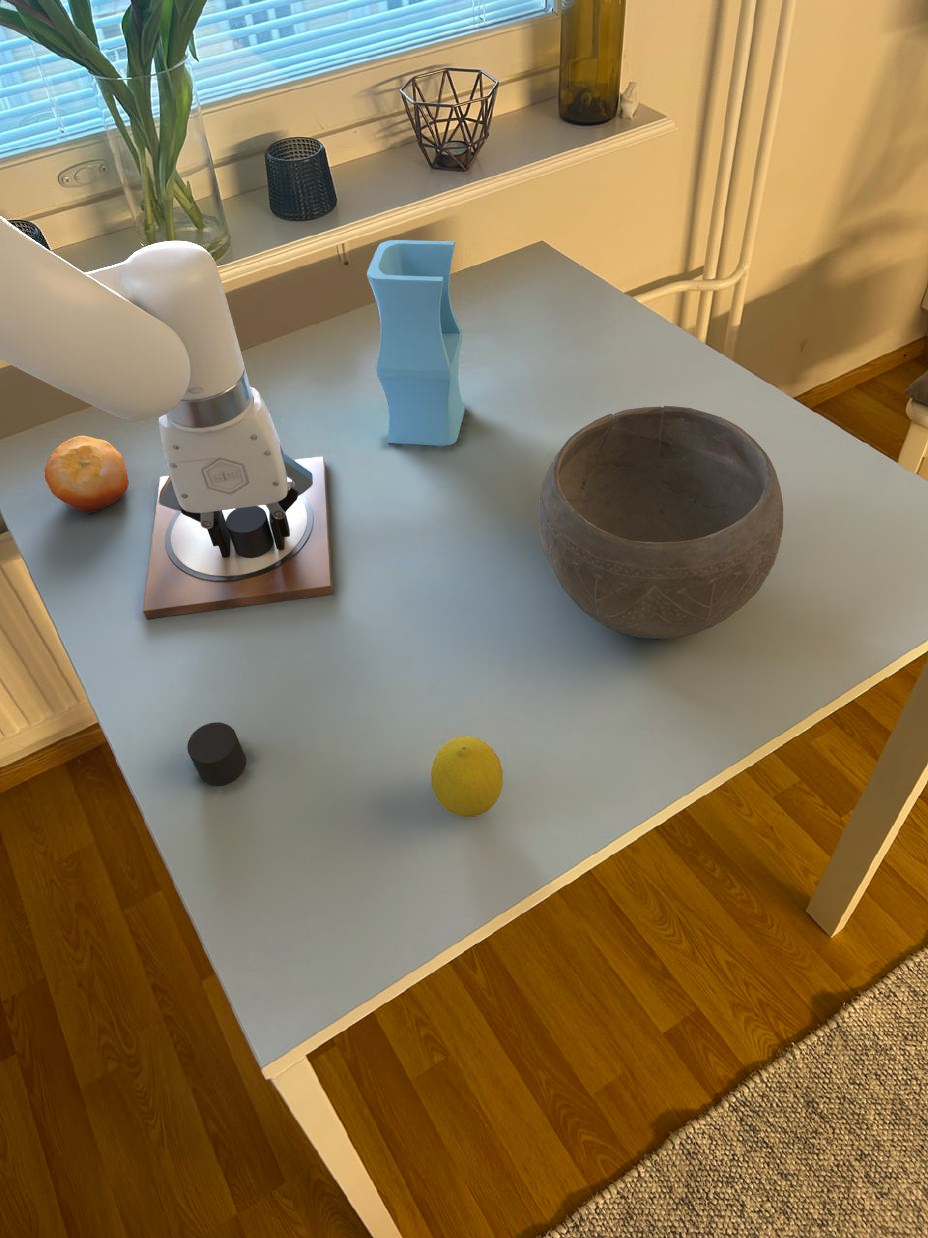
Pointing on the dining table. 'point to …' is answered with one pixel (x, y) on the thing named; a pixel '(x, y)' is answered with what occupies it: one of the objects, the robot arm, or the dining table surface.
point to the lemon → (466, 776)
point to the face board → (239, 559)
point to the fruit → (86, 473)
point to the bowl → (661, 520)
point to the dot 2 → (250, 531)
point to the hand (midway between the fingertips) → (253, 542)
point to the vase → (418, 341)
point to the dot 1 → (217, 753)
